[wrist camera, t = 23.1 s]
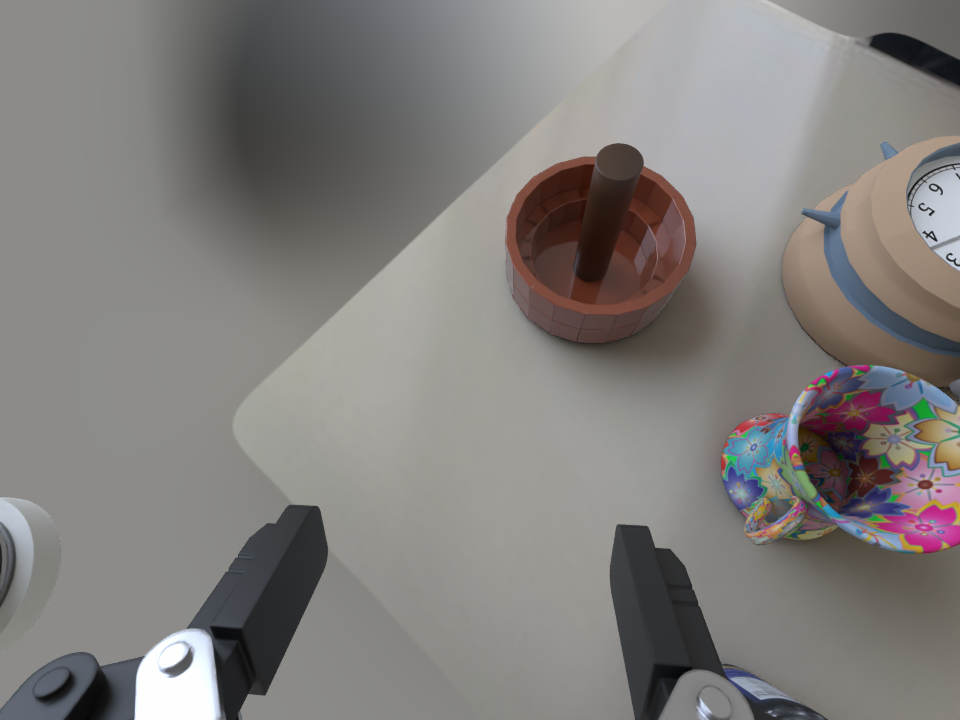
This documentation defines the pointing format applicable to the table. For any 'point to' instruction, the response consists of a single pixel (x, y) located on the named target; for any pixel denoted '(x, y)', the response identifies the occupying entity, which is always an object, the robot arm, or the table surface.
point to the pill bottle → (768, 696)
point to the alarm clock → (886, 265)
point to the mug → (852, 463)
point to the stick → (606, 208)
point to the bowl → (631, 272)
